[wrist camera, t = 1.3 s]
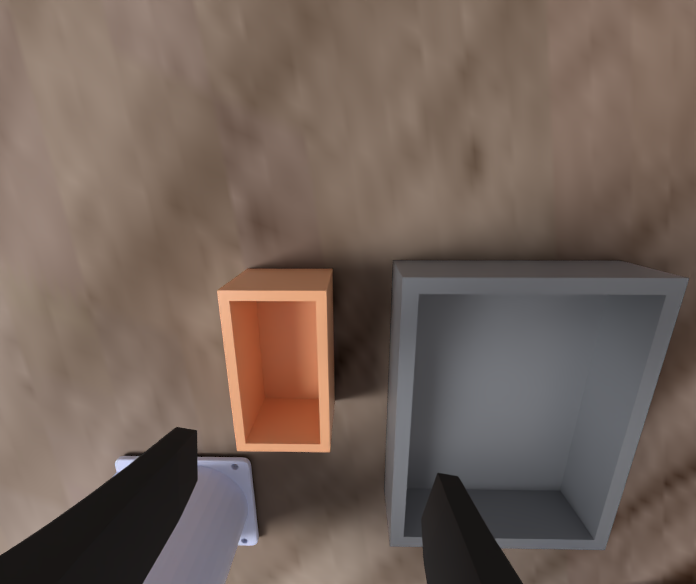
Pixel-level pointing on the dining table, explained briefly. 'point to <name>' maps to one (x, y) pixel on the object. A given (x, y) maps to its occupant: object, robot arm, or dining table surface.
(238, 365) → the small crate
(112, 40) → the dining table surface
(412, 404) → the big crate
